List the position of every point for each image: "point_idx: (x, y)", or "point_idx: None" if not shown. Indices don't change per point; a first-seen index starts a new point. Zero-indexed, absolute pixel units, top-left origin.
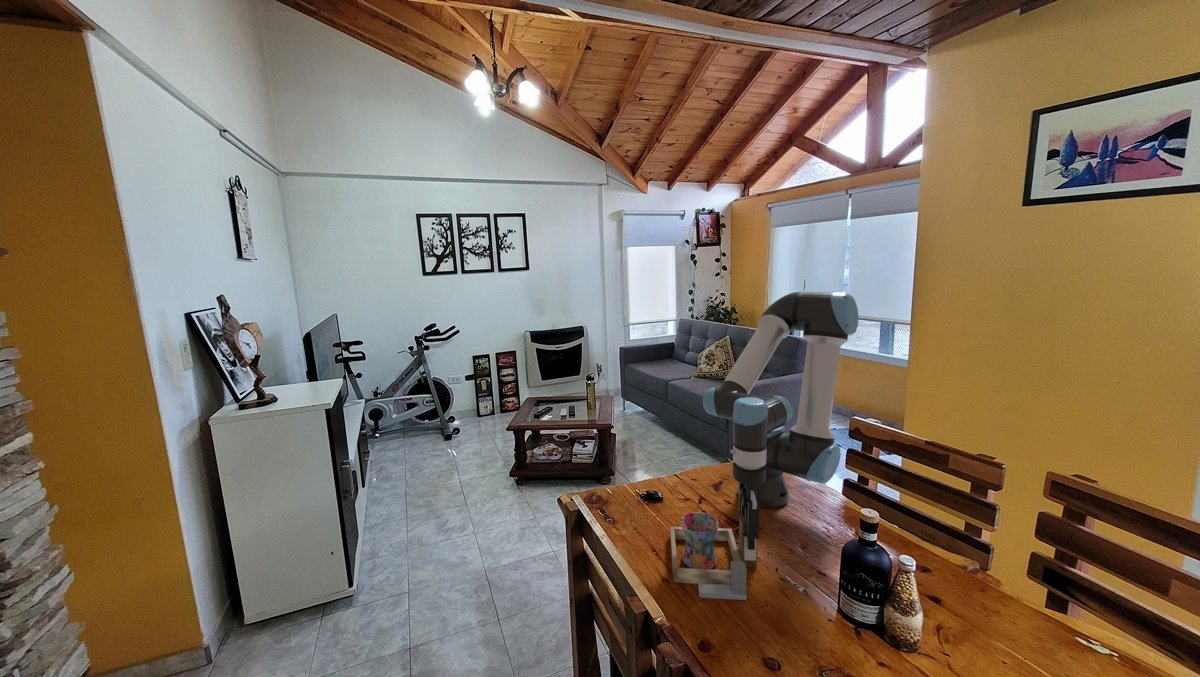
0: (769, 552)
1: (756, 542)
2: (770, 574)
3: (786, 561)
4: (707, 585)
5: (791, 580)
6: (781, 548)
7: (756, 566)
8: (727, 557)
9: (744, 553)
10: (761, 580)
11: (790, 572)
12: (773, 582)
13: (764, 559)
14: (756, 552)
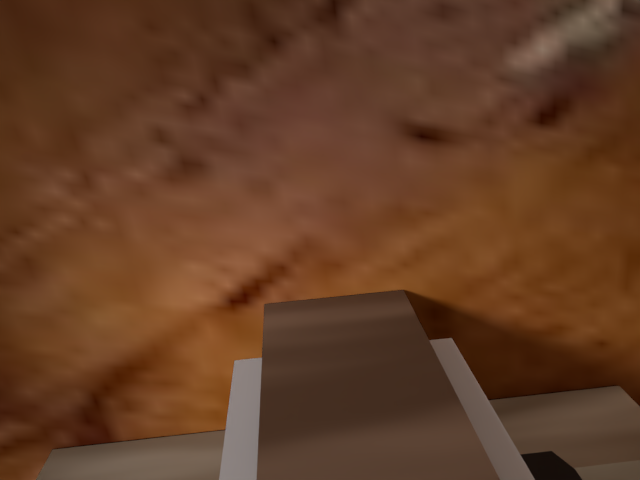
0: (171, 159)
1: (486, 462)
2: (495, 197)
3: (291, 12)
4: None
5: (574, 26)
6: (61, 19)
7: (405, 294)
8: None
9: None
10: (566, 274)
11: (462, 9)
12: (592, 188)
13: (293, 219)
14: (441, 371)
